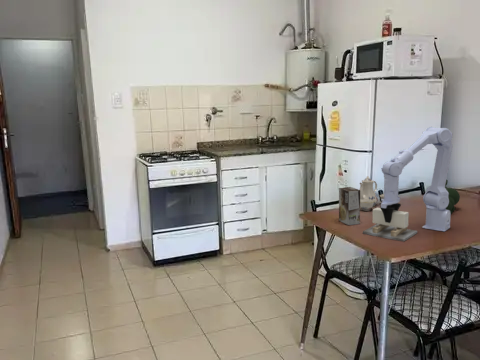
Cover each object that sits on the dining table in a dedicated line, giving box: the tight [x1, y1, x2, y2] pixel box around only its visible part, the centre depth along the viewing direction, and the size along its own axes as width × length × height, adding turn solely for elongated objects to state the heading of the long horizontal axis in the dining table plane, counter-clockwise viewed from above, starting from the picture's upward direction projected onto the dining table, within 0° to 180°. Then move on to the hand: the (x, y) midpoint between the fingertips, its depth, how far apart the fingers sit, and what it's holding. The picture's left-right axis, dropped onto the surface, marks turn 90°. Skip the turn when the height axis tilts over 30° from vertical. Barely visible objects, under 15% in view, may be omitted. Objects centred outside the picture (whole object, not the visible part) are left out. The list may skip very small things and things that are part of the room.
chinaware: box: [359, 175, 384, 212], centre depth 230 cm, size 28×17×17 cm, turn 129°
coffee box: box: [338, 186, 361, 226], centre depth 203 cm, size 9×6×16 cm
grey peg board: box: [362, 223, 418, 243], centre depth 185 cm, size 18×14×4 cm
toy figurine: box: [445, 178, 461, 215], centre depth 215 cm, size 9×19×25 cm
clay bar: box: [371, 207, 410, 228], centre depth 185 cm, size 14×4×6 cm, turn 47°
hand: (390, 221), depth 185 cm, fingers closed on clay bar, 4 cm apart
